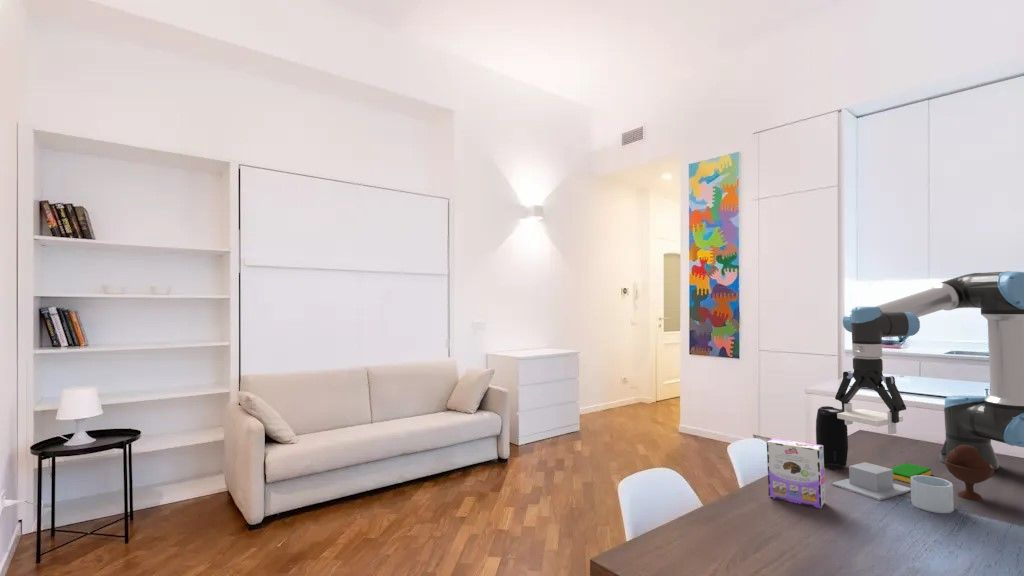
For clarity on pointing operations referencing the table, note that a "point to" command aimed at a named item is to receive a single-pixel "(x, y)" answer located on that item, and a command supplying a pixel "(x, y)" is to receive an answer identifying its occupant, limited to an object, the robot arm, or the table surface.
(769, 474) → the candy box
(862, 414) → the white flat square block
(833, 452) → the portable speaker
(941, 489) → the ceramic bowl
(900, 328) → the robot arm
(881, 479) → the stand
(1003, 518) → the table surface
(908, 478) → the dish sponge
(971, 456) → the ice cream bowl
